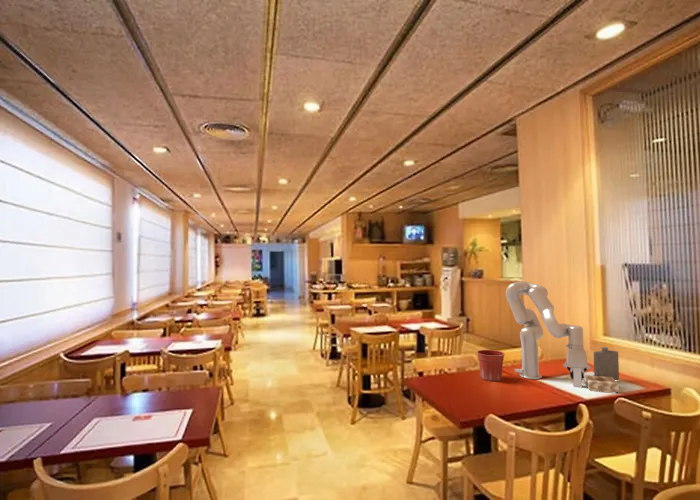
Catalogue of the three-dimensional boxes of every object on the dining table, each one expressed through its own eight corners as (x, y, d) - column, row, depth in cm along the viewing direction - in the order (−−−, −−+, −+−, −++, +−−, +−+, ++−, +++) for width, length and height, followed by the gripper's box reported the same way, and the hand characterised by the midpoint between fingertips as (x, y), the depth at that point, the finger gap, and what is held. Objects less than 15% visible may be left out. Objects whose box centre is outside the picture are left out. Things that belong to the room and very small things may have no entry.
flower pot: (501, 375, 254) (500, 349, 254) (508, 382, 237) (508, 355, 238) (474, 374, 255) (474, 349, 256) (480, 382, 239) (480, 355, 239)
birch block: (589, 390, 221) (589, 381, 221) (584, 383, 234) (584, 374, 234) (619, 393, 216) (618, 384, 216) (612, 385, 229) (612, 377, 229)
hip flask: (597, 382, 235) (596, 348, 236) (592, 380, 239) (591, 347, 240) (620, 380, 238) (619, 347, 239) (614, 379, 242) (613, 346, 243)
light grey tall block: (573, 386, 228) (573, 367, 229) (572, 384, 232) (572, 365, 232) (581, 387, 227) (581, 368, 227) (580, 385, 231) (579, 366, 231)
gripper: (560, 347, 230) (561, 379, 229) (594, 349, 224) (595, 382, 223) (559, 345, 237) (559, 375, 236) (591, 346, 231) (592, 378, 230)
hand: (577, 378), depth 230 cm, fingers closed on light grey tall block, 4 cm apart
